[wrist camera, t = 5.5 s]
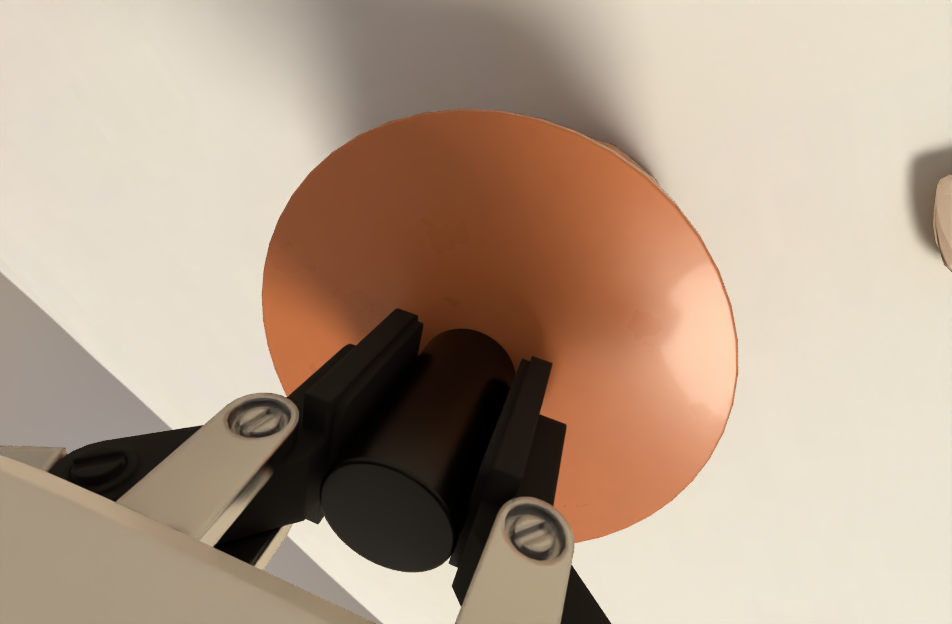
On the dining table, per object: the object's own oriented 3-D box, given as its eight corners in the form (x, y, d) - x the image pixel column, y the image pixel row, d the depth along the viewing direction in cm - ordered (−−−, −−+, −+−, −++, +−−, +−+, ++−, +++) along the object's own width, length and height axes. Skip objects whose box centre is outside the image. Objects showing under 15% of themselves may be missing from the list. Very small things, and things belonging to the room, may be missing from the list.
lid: (293, 48, 11) (-3, 1, 6) (846, 200, 9) (1146, 332, 4) (279, 433, 17) (125, 584, 12) (615, 573, 15) (613, 826, 10)
